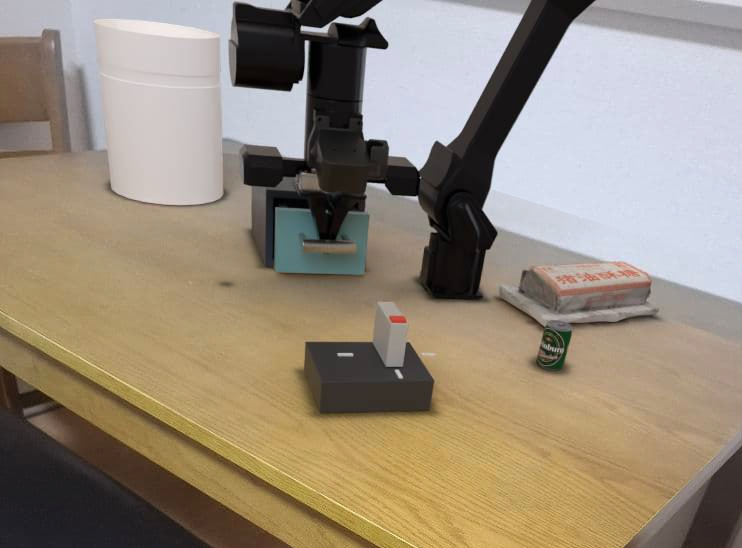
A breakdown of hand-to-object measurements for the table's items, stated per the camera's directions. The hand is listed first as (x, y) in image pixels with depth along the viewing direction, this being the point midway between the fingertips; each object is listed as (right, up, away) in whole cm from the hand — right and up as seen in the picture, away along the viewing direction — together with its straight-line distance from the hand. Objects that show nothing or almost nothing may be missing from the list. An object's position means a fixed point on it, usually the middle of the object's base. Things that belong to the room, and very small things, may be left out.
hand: (325, 252), depth 86 cm
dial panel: (+6, -18, -16) cm, 25 cm away
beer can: (+24, -15, -7) cm, 29 cm away
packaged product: (+30, -4, +8) cm, 32 cm away
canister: (-26, +19, +26) cm, 42 cm away
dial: (+7, -16, -17) cm, 25 cm away
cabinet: (-4, +5, +12) cm, 14 cm away
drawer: (-2, +1, +6) cm, 7 cm away
